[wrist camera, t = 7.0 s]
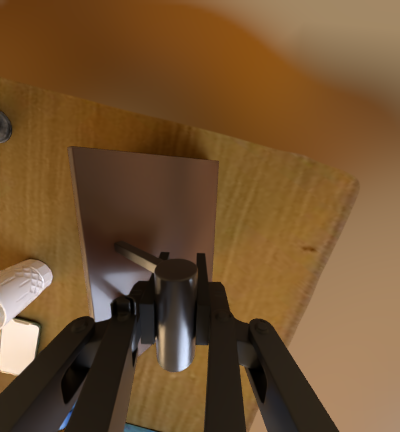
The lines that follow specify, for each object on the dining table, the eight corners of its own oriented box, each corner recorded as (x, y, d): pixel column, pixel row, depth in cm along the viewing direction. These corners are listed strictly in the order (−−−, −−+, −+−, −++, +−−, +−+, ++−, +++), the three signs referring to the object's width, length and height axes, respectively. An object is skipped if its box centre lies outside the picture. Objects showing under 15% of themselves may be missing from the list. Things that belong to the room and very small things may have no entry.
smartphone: (34, 376, 43) (43, 323, 39) (32, 379, 43) (41, 325, 39) (-2, 368, 42) (4, 313, 38) (-4, 371, 42) (1, 315, 38)
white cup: (15, 288, 37) (-48, 330, 28) (13, 253, 35) (-56, 284, 26) (56, 293, 38) (8, 337, 28) (55, 259, 36) (3, 292, 26)
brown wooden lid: (98, 381, 16) (162, 479, 11) (66, 146, 11) (153, 136, 6) (207, 291, 28) (260, 319, 23) (213, 160, 23) (282, 161, 18)
